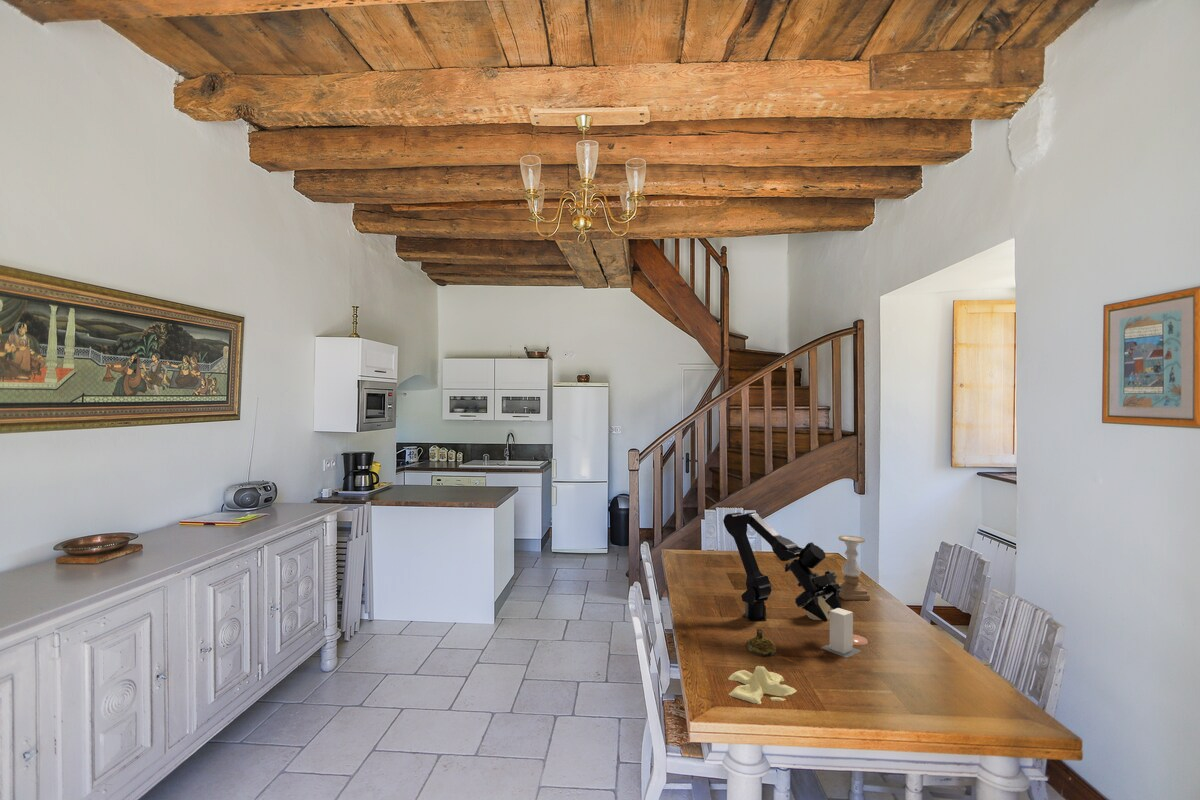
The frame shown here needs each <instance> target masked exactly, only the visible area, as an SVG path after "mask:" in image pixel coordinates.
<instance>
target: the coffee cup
mask: <svg viewBox="0 0 1200 800" xmlns="http://www.w3.org/2000/svg"><path fill="white" fill-rule="evenodd" d="M823 589H824V588H823ZM825 600H826V599H824V598H822V597H819V598H818V604H819V606H820V607H821V609H822V611H823V612H824V614H825V616H826V617H827V619H828V621H830V610H831V607H830V606H829V605H828V604H827V603H826V602H825ZM806 615H807V618H808V619H811V620H814V621H822V620H821V619H820V618H818V617H817V616H815V615H813V614H812V613H810V612H808V611H807V610H806Z"/></svg>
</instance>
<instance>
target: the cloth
mask: <svg viewBox="0 0 1200 800" xmlns="http://www.w3.org/2000/svg"><path fill="white" fill-rule="evenodd" d="M729 680H730V681H736V682H739V683H742V684H741V685H738V686H736V687H735V688H734V689H732V691H730V692H729V693H728V696H729V695H730V696H729V697H733V698H736V699H739V700H743V701H746V702H748V703H749V702H750V703H752V704H755V703H757V704H756V705H761V703H763V702H762V701H761V699H762V698H763V697H764V694H766V695H767V694H768V695H771V697H769V699H770V700H771V701H774V702H776V701H777V702H781V701H782V702H783V701H785V700H787V699H786V698H783V697H786V696H790V695H793V694H795V693H796V692H797V691H798V690H797V689H795V688H794V687H791V686H789V685H787V684H780V683H782V682H785V678H784V677H783V675H781V674H779V673H776V672H773V671H768V669H767V668H765V666H761V665H757V666H755V669H754V670H753V673H752V672H750V671H747V670H745V669H741V670H737V671H735V672H733V673H732V674H730V676H729V677H728V681H729Z"/></svg>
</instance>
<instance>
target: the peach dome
mask: <svg viewBox="0 0 1200 800" xmlns="http://www.w3.org/2000/svg"><path fill="white" fill-rule="evenodd" d="M868 643H869V640H868V639H867V638H866V637H864V636H862V635H859V634H854V633H853V646H866V645H868Z"/></svg>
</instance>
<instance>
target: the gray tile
mask: <svg viewBox="0 0 1200 800" xmlns="http://www.w3.org/2000/svg"><path fill="white" fill-rule="evenodd" d="M820 649H822V650H826V651H828V652H829V653H833V654H835V655H838V656H841V657H843V658H846V659H847V658H849V657H851V656H854V655H856V654H859V653H861V652H862V650H861V649H858V648H855V647H853V650H852V651H850V652H847V653H845V654H843V653H840V652H838V651H835V650H832V649H830V643H829V644H826V645H823V646H821V647H820Z"/></svg>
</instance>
